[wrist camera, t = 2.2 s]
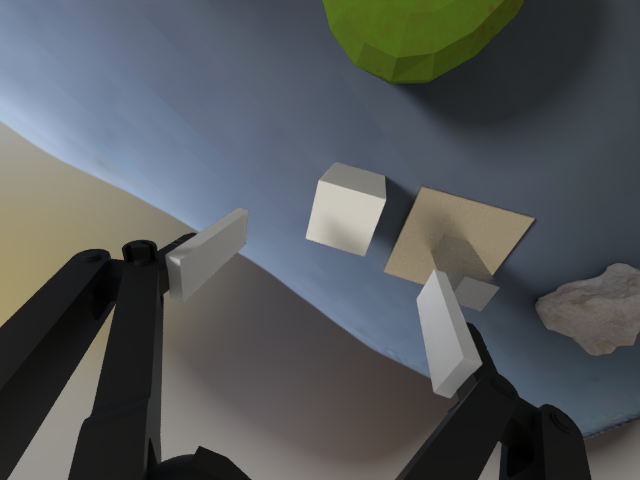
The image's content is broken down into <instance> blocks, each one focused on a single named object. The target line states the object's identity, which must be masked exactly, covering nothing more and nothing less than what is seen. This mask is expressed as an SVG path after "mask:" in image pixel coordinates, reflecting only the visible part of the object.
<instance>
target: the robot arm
mask: <svg viewBox="0 0 640 480" xmlns="http://www.w3.org/2000/svg"><path fill="white" fill-rule="evenodd" d="M247 223H248V211H247V210H244V209H241V208H237V209H236V210H234V211H233V212H231V213H229V214H228V215H226V216H225V217H223V218H222V219H220V220H219V221H217V222H216V223H214V224H212V225H211V226H209V227H208V228H206V229H205V230H203V231H202V232H200V233H198V234H196V233H190V234H186V235H183V236H182V237H180V238H178V239H177V240H175V241H174V242H172V243H171V244H169V245H167V246H165V247H164V248H162V249H160V250H159V251H157V246H156V244H155V243H154V242H153V241H149V240H136V241H132V242H129V243H127V244H125V245H124V246H123V247H122V252H123V256H124V260H117V259H111V256H110V253H109V252H108V251H106V250H103V249H89V250H85V251H82V252H79V253H77V254H76V255H74V256H73V257H72V258H71V259H70V260H69V261H68V262H67V263H66V264H65V265H64V266H63V267H62V268H61V269H60V270H59V271H58V272H57V273H56V274H55V275H54V276H53V277H52V278H51V279H49V280H48V281H47V283H46V284H44V285H43V286H42V287H41V288H40V289H39V290H38V291H37V292H36V293H35V294H34V295H33V296H32V297H31V298H30V299H29V300H28V301H27V302H26V303H25V304H24V305H23V306H22V307H21V308H20V309H19V310H18V311H17V312H16V313H15V314H14V315H13V316H12V317H11V318H10V319H9V320H7V322H5V323H4V324H3V325H2V326H1V327H0V480H7V479H8V477H9V476H10V474H11V473H12V471H13V469H14V468H15V466H16V465H17V463H18V461H19V459H20V458H21V457H22V455H23V453H24V452H25V450H26V449H27V447H28V445H29V444H30V442H31V440H32V439H33V437H34V436H35V434H36V432H37V431H38V429H39V427H40V426H41V424H42V423H43V421H44V419H45V418H46V416H47V414H48V413H49V411H50V410H51V408H52V406H53V405H54V403H55V401H56V400H57V398H58V397H59V395H60V393H61V391H62V390H63V388H64V387H65V385H66V384H67V382H68V380H69V379H70V377H71V375H72V374H73V372H74V371H75V369H76V367H77V366H78V364H79V363H80V361H81V359H82V358H83V356H84V354H85V353H86V351H87V350H88V348H89V346H90V344H91V343H92V341H93V340H94V338H95V337H96V335H97V333H98V332H99V330H100V328H101V327H102V325H103V324H104V322H105V320H106V319H107V317H108V315H109V314H110V312H111V310H112V309H113V307H114V306H115V304H116V306H115V310H114V315H113V320H112V324H111V328H110V333H109V338H108V342H107V346H106V351H105V356H104V360H103V365H102V369H101V374H100V378H99V383H98V387H97V392H96V396H95V401H94V405H93V410H92V413H91V415H90V417H88V418H87V419H85V420H84V422H83V424H82V426H81V430H80V433H79V436H78V441H77V445H76V448H75V453H74V457H73V461H72V465H71V469H70V473H69V477H68V480H251V479H250V478H249V477H248V476H247V475H246V474H245V473H244V472H242V471H241V470H240V469H239V468H238V467H237V466H236V465H235V464H234V463H233V462H232V461H231V460H229V459H228V458H227V457H225V456H222V455H220V454H218V453H215V452H213V451H211V450H208V449H206V448H203V447H201V446H199V447H198V449H197V451H196V453H195V454H189V455H181V456H177V457H173V458H171V459H168V460H166V461H163V462H161V442H160V425H161V386H162V347H163V346H162V345H163V309H164V308H163V307H164V305H163V304H164V297H163V294H164V293H166V292H167V291H168V290H169V292H170V298H172V299H175V300H178V301H180V302H184V301H185V300H187V299H188V298H189V297H190V296H191V295H192V294H193V293H194V292H195V291H196V290H197V289H198V288H199V287H200V286H201V285H203V283H205V282H206V281H207V280H208V279H209V278H210V277H211V276H212V275H213V274H214V273H215V272H216V271H217V270H218V269H219V268H220V267H222V266H223V265H224V264H225V263H226V262H227V261H228V260H229V259H230V258H231V257H232V256H233V255H234V254H235V253H236V252H237V251H239V250H240V249H241V248H242V247H243V246H244V245H245V244H246V234H247ZM417 305H418V311H419V316H420V321H421V327H422V332H423V337H424V343H425V348H426V353H427V359H428V364H429V369H430V375H431V380H432V385H433V391H434V393H436V394H439V395H442V396H445V397H447V398H451V397H452V396H453V395H454V394H455V393H456V392H457V395H458V398H459V401H458V402H457V403H456V404H455V405H454V406H453V407H452V408H451V409H450V410H449V411H448V414H447V415H446V416H445V418H444V419H443V420H442V422H441V423H440V424H439V425H438V427H437V428H436V429H435V430H434V432H433V433H432V434H431V435H430V436H429V438H428V439H427V440H426V441H425V443H424V444H423V445H422V447H421V448H420V449H419V450H418V451H417V453H416V454H415V455H414V456H413V458H412V459H411V460H410V461H409V463H408V464H407V465H406V466H405V468H404V469H403V470H402V472H401V473H400V474H399V475H398V476H397V478H396V479H395V480H478V478H479V476H480V475H481V473H482V471H483V469H484V467H485V465H486V463H487V461H488V459H489V457H490V455H491V453H492V452H493V450H494V448H495V446H496V444H497V442H498V441H500V442H501V443H502V447H501V459H500V473H499V480H591V475H590V470H589V465H588V460H587V455H586V450H585V445H584V440H583V436H582V434H581V431H580V430H579V428H578V427H577V425H576V424H575V423H574V422H573V420H572V419H570V417H569V416H568V415H566V414H565V413H564V412H562V411H561V410H560V409H558V408H556V407H554V406H553V405H549V404H544V405H542V406H541V407H539V408H537V407H535V406H533V405H532V404H530V403H528V402H527V401H525V400H523V399H522V398H520V397H519V395H518V393H517V391H516V389H515V388H514V386H513V385H512V384H511V383H510V382H509V381H508V380H507V379H506V378H504V377H503V376H501V375H500V374H498V372H497V370H496V367H495V365H494V363H493V361H492V358H491V356H490V354H489V352H488V350H487V347H486V345H485V343H484V341H483V338H482V336H481V334H480V332H479V331H478V330H477V329H476V327H475V326H474V325H473V324H471V323H468V322H465V319H464V317H463V314H462V312H461V309H460V307H459V304H458V302H457V299H456V297H455V295H454V292H453V290H452V287H451V285H450V282H449V280H448V277H447V275H446V273H444V272H441V271H438V270H435V269H434V270H433V272H432V274H431V275H430V277H429V279H428V281H427V282H426V284H425V286H424V288H423V289H422V291H421V293H420V294H419V296H418V298H417Z"/></svg>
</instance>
